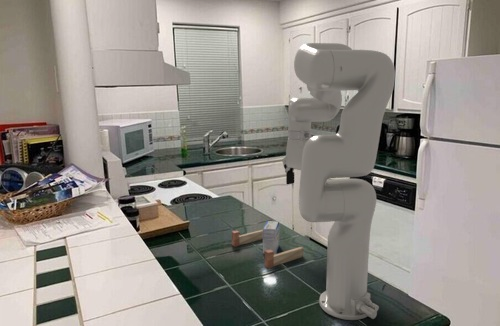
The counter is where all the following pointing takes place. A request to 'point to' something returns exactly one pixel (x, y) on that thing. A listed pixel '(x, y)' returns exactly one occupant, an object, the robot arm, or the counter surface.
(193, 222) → the counter surface
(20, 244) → the counter surface
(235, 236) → the channel
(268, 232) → the medicine box
